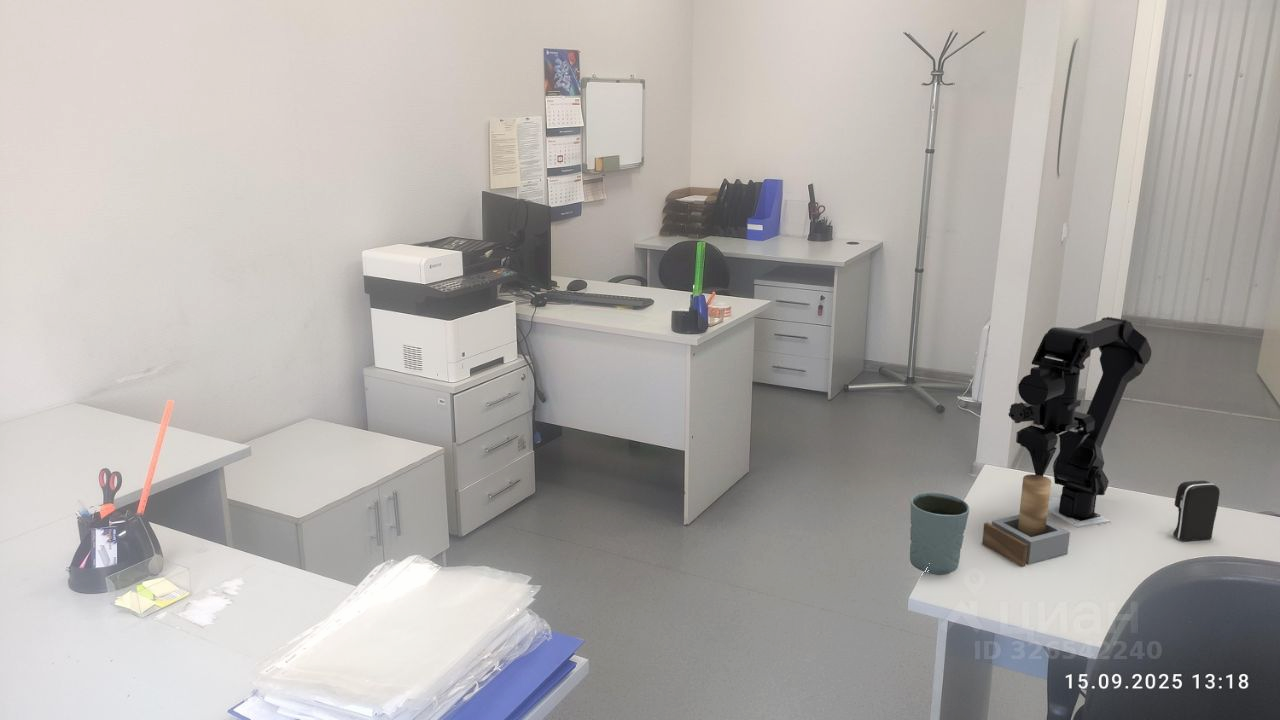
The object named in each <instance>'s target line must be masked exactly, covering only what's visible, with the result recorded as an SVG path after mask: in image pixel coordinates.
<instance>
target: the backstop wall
mask: <svg viewBox="0 0 1280 720" xmlns="http://www.w3.org/2000/svg"><path fill="white" fill-rule="evenodd" d="M981 544H982V545H983V546H985V547H987V548H989V549H990V550H992V551H994V552H995V553H997V554H998V555H999V554H1000V556H1002V557H1004V558H1006V559H1007V560H1009V561H1011V562H1013V563H1015V564H1017V565H1018V566H1020V567H1022V568H1024V567H1026V566H1027V563H1026V558H1027V549H1028V544H1026V543H1024V542H1022V541H1021V540H1019V539H1017V538H1015V537H1013V536H1011V535H1010V534H1008V533H1006V532H1004V531H1002V530H1000V529H999V528H997V527H995V526H993V525H992V523H989V522H983V532H982V543H981Z"/></svg>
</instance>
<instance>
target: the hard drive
mask: <svg viewBox="0 0 1280 720" xmlns="http://www.w3.org/2000/svg"><path fill="white" fill-rule="evenodd" d="M1060 498H1061V496H1059V497H1052V498H1050V497H1049V505H1048V512H1050V513H1052V514H1053V515H1055V516H1056V517H1058V518H1060V519H1062V520H1063V521H1065V522H1066V523H1068V524H1070V525H1072V526H1074V527H1075V528H1084V527H1092V526H1102V525H1101V524H1104V525H1108V524H1107V523H1110V524H1111V522H1112V521H1110V519H1109V520H1108V519H1107V518H1105V517H1104V516H1102V515H1100V514H1099V515H1100V517H1096V518H1092V519H1088V520H1084V521H1079V520H1077V521H1076V520H1074V518H1068V517H1066V516H1064V515H1062V514H1060V513H1059V506H1060ZM1094 513H1096V512H1095V511H1094ZM1099 515H1097V516H1099Z"/></svg>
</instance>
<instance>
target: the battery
mask: <svg viewBox="0 0 1280 720" xmlns="http://www.w3.org/2000/svg"><path fill="white" fill-rule="evenodd" d="M1176 489H1177V490H1176V494H1175V499H1174V506H1175V507H1176V508H1178V509H1177V511H1178V514H1177V515H1178V517H1177V525H1176V528H1175V529H1174V531H1173V536H1174V537H1176V539H1178V540H1179V541H1183V542H1184V541H1185V542H1186V541H1201V540H1208V539H1212V538H1213V531H1214V525H1215V521H1216V516H1217V512H1218V507H1219V500H1220V492H1221V491H1220V488H1219V487H1218V486H1217V485H1216V484H1214V483H1211V482H1210V481H1206V480H1191V481H1184V482H1182V483H1180V484H1179V485H1178V487H1177V488H1176Z"/></svg>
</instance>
